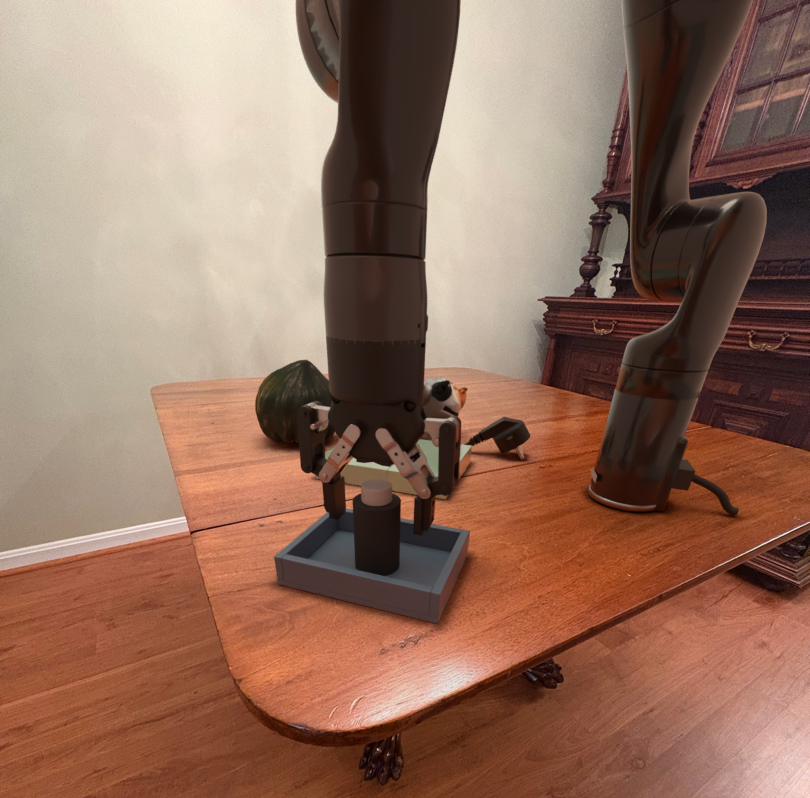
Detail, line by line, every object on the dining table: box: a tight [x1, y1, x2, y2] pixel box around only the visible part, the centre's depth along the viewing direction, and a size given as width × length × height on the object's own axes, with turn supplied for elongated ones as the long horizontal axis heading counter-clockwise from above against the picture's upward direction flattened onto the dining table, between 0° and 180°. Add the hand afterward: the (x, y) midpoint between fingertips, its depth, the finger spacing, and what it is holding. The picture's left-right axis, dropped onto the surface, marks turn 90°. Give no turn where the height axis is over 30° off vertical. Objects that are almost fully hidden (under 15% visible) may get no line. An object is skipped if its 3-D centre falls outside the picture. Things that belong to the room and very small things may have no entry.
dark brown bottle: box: [352, 479, 402, 576], centre depth 40 cm, size 4×4×8 cm
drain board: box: [315, 439, 473, 500], centre depth 66 cm, size 20×16×3 cm
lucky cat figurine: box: [420, 377, 468, 441], centre depth 80 cm, size 15×12×14 cm
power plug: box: [463, 416, 531, 461], centre depth 74 cm, size 6×8×12 cm
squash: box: [254, 359, 336, 444], centre depth 76 cm, size 14×15×15 cm
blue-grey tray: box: [273, 507, 471, 624], centre depth 42 cm, size 16×12×3 cm
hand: (378, 523), depth 40 cm, fingers open, 8 cm apart
